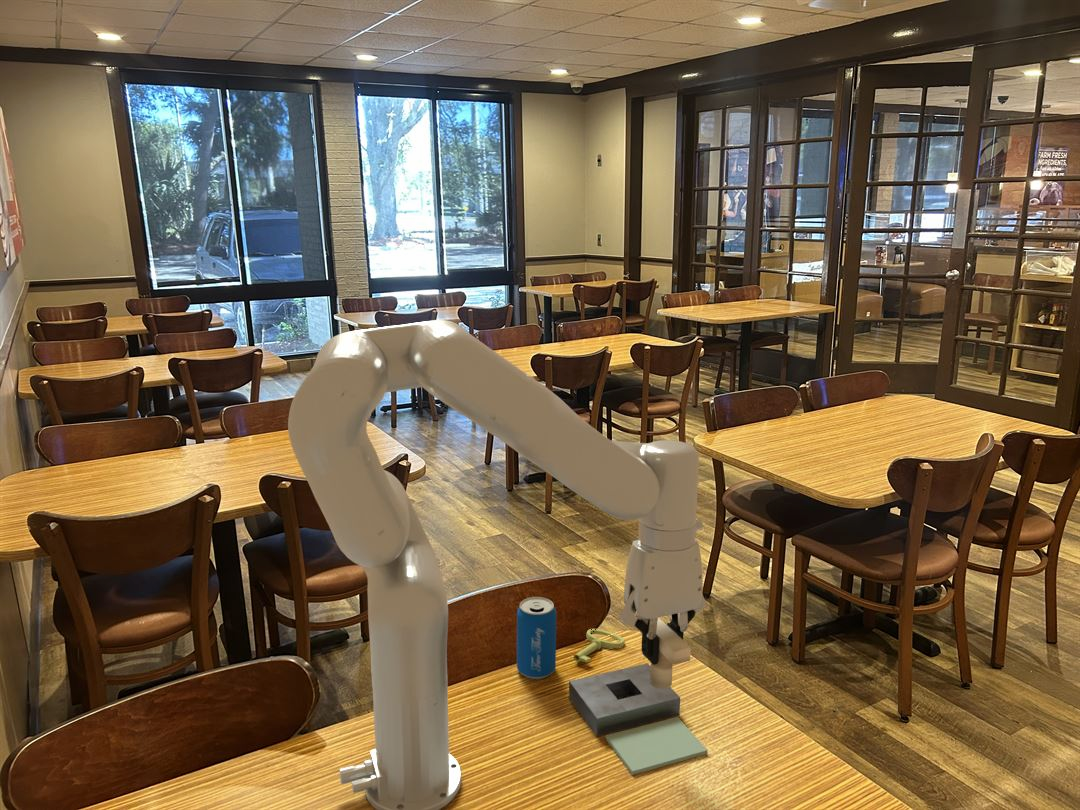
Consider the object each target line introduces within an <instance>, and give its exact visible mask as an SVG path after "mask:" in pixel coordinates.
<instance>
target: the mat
mask: <svg viewBox="0 0 1080 810" xmlns="http://www.w3.org/2000/svg"><path fill="white" fill-rule="evenodd" d="M605 741H606V742H607V743H608V744H609V745H610V747H611V748H612V749H613V751H614V752H615V754H616V756H618V758H619V759H620V761H621V762H622V763H623V765H624V767H626V769H627V770H628V771H629V773H630V774H631V776H634V775H637V774H638V775H639V774H642V773H645V772H648V771H652V770H656V769H659V768H662V767H666V766H670V765H672V764H676V763H679V762H684V761H686V760H690V759H694V758H697V757H700V756H701V757H702V756H704V755H708V749H707V747H705V745H704V744H703V743H702V742H701V740H699V739H698V738H697V737H696V736H695V734H693V732H692V731H691V730H690V728H688V727H687V726H686V724H684V722H683V721H682V720H681V719H680V718H679V717H678V716H674V717H670V718H666V719H663V720H659V721H655V722H651V723H650V724H649V723H647V724H646V725H645V724H643V725H640V726H636V727H632V728H628V729H624V730H620V731H617V732H613V733H609V734H605Z"/></svg>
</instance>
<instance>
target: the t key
mask: <svg viewBox="0 0 1080 810" xmlns="http://www.w3.org/2000/svg"><path fill="white" fill-rule="evenodd" d="M638 631H639V632H640V633H641V634H642V632H641V631H640V630H638ZM656 636H657V637H658V638H659V661H658V663H657V664H655V665H653V664H652V663H651V662H650V666H651V671H650V683H651V685H652V686H654V687H656V688H659V689H666V688H669V687H671V686H672V684H673V683H672V682H673V681H672V680H673V666H674V665H677V664H682V663H686V662H690V661H691V656H692V655H691V653H692V652H691V651H692V648H691V646H690V645H689V644H688V643H687V642H686V641H685V640H684V639H683V640H682V639H681V638H680V637H679V636H678V635H677V634H676V633H675V632H674V631H673V630H672V629H670V628H669V627H668V626H667V623H665V622H664V621H663V620H662V619H661V617H658V622H657V629H656Z"/></svg>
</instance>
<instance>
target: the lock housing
mask: <svg viewBox="0 0 1080 810" xmlns="http://www.w3.org/2000/svg"><path fill="white" fill-rule="evenodd" d="M650 671H651V664H649V663H643V664H637V665H635V666H629V667H626V668H622V669H621V668H620V669H616V670H612V671H608V672H604V673H599V674H594V675H590V676H587V677H581V678H576V679H573V680H568V699H569V700H570V701H571V703H572V704H573V706H574V707H575V709H576V710H577V712H579V715H580V716H581V717H582V718H583V720H584V721H585V722H586V724H587V726H588V727H589V728H590V730H591V731H592V732H593V734H594V735H595V736H596V737H601V736H606V735H610V734H613V733H617V732H621V731H625V730H629V729H633V728H636V727H640V726H644V725H645V724H646V725H648V724H649V723H650V724H652V723H656V722H659V721H663V720H667V719H671V718H675V717H678V716H680V713H681V712H680V708H681V697H680V696H679V695H678V693H677V692H675V690H674V689H673V688H672V687H671V686H670V687H669V688H666V689H659V688H656V687H654V686H652V685H651V683H650ZM625 696H626V697H625ZM621 697H622V698H621Z"/></svg>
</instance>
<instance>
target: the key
mask: <svg viewBox="0 0 1080 810" xmlns="http://www.w3.org/2000/svg"><path fill="white" fill-rule="evenodd" d="M591 629H592V630H591ZM595 629H596V630H595ZM593 631H594V632H593ZM591 633H592V634H591ZM595 634H597V635H602V636H607V635H610V636H609V637H610V638H612V639H614V638H615V640H616V639H617V640H616V642H614V641H610V640H605V639H601V638H599V637H597V636H594V635H595ZM611 634H614V635H611ZM617 635H618V634H616V633H614V632H611V631H607V630H605V629H598V628H590V629H588V630H587V632H586V635H585V636H586V637H585V638H586V639H587V640H588V641H589V642H590V641H591V642H590V644H589V645H587V646H586V647H584V648H583V649H581V650H580V651H578V652H577V653H575V654H574V655H573V659H574V661H575V662H579V661H581V662H583V663H584V662H585V663H589V662H591V659H592V658H591V657H589V656H588V655H590V654H591V653H593V652H594V651H596V650H601V648H605V649H609V648H618V649H620V648H619V647H621V648H623V647H624V646H625V644H624V643H625V639H624V638H623V637H622V636H620V635H618V636H617ZM596 638H597V639H596ZM618 640H619V641H620V642H619V641H618ZM623 645H624V646H623ZM622 646H623V647H622Z"/></svg>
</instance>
